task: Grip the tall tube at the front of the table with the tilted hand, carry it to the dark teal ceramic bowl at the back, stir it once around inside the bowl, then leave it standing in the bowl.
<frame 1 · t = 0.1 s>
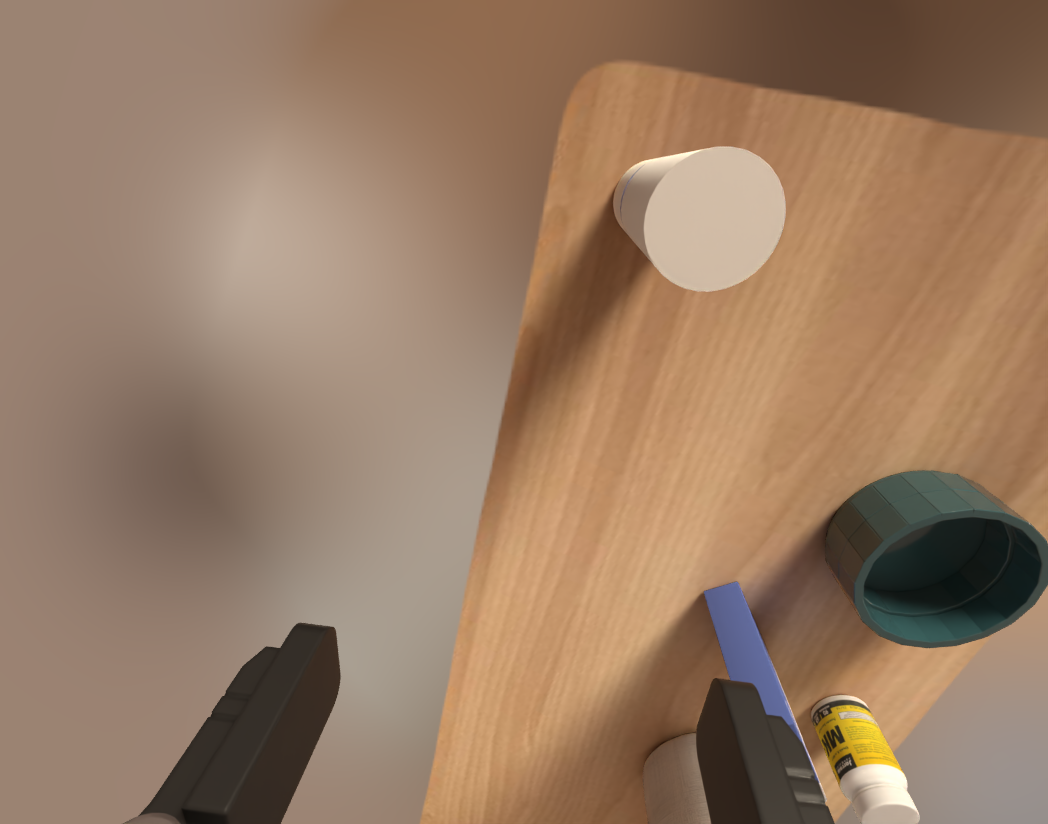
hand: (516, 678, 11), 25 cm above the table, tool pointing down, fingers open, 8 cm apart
planter: (707, 765, 50), on the table
tube: (650, 200, 30), on the table
supplement bottle: (836, 709, 46), on the table
bowl: (904, 534, 38), on the table
walkman: (735, 617, 42), on the table
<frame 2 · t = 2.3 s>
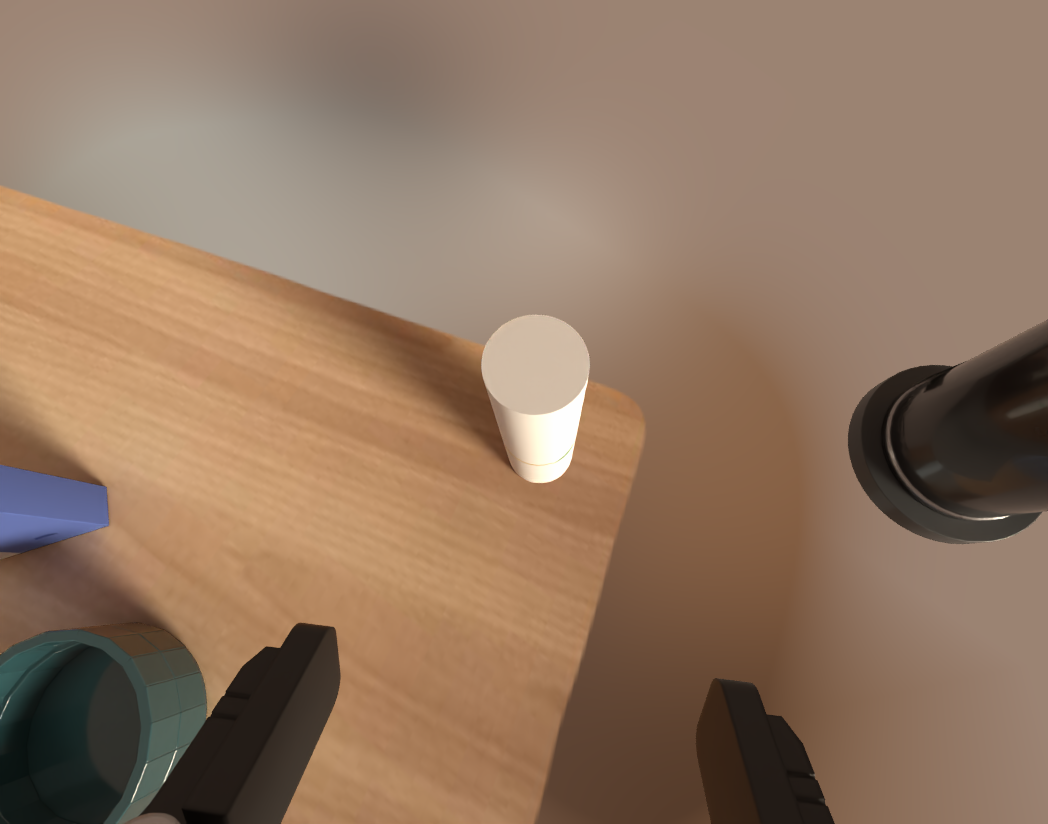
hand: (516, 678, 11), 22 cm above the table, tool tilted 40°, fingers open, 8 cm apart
tube: (540, 451, 35), on the table
bowl: (118, 723, 31), on the table
walkman: (54, 524, 35), on the table
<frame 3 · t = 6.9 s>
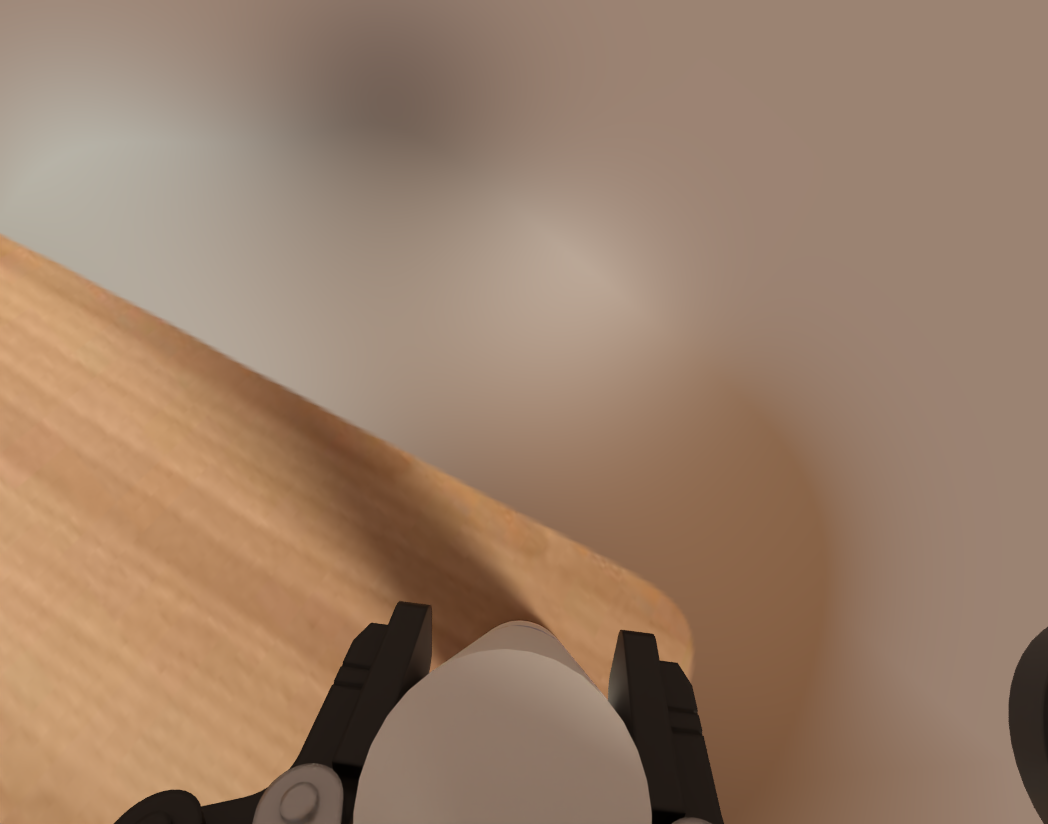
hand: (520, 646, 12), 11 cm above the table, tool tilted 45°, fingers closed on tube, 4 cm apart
tube: (519, 675, 22), on the table, touching gripper
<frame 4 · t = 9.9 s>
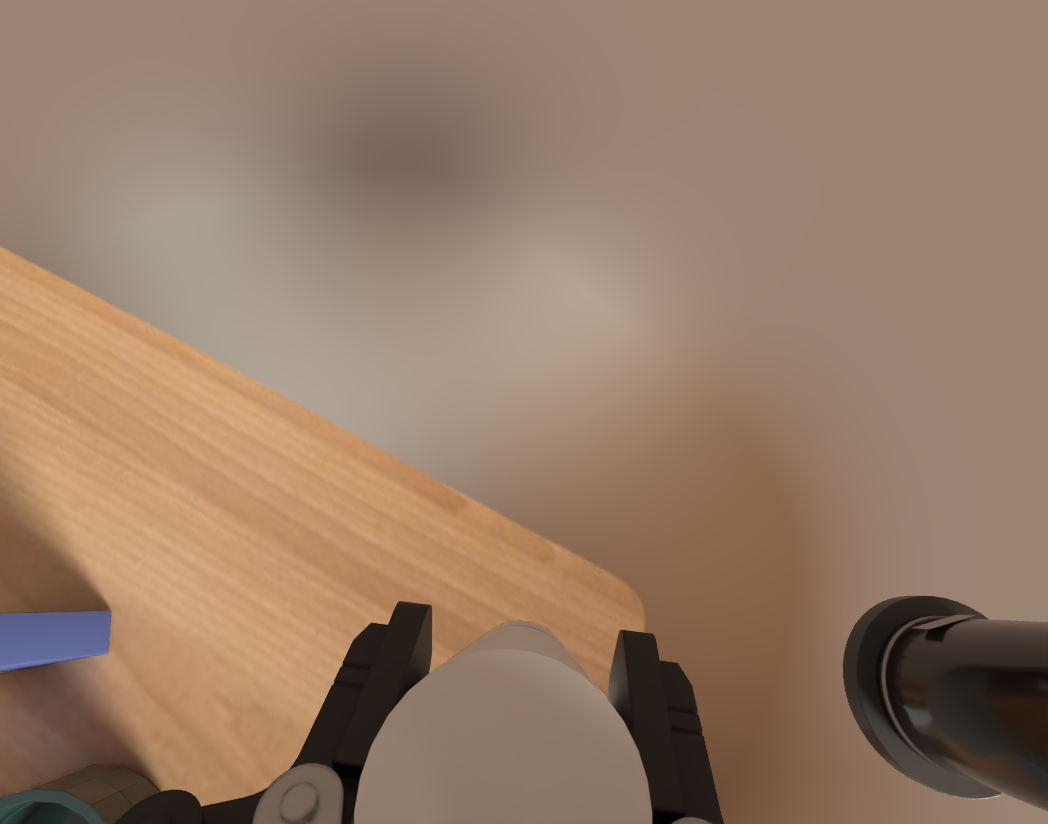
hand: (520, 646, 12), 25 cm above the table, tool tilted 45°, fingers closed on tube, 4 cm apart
tube: (519, 675, 22), point 14 cm above the table, touching gripper
walkman: (54, 643, 36), on the table
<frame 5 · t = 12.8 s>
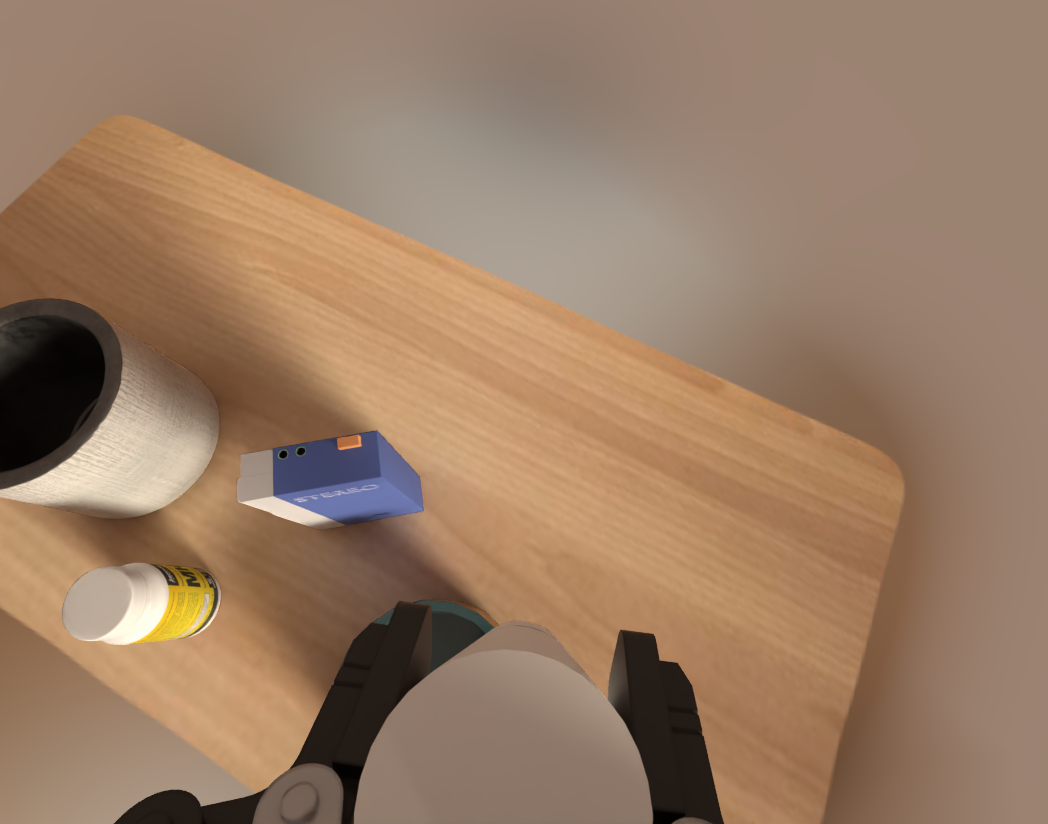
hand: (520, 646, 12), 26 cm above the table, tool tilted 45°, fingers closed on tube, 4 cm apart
planter: (147, 441, 42), on the table
tube: (519, 675, 22), point 15 cm above the table, touching gripper
supplement bottle: (191, 602, 37), on the table
bowl: (440, 688, 35), on the table
walkman: (372, 503, 40), on the table
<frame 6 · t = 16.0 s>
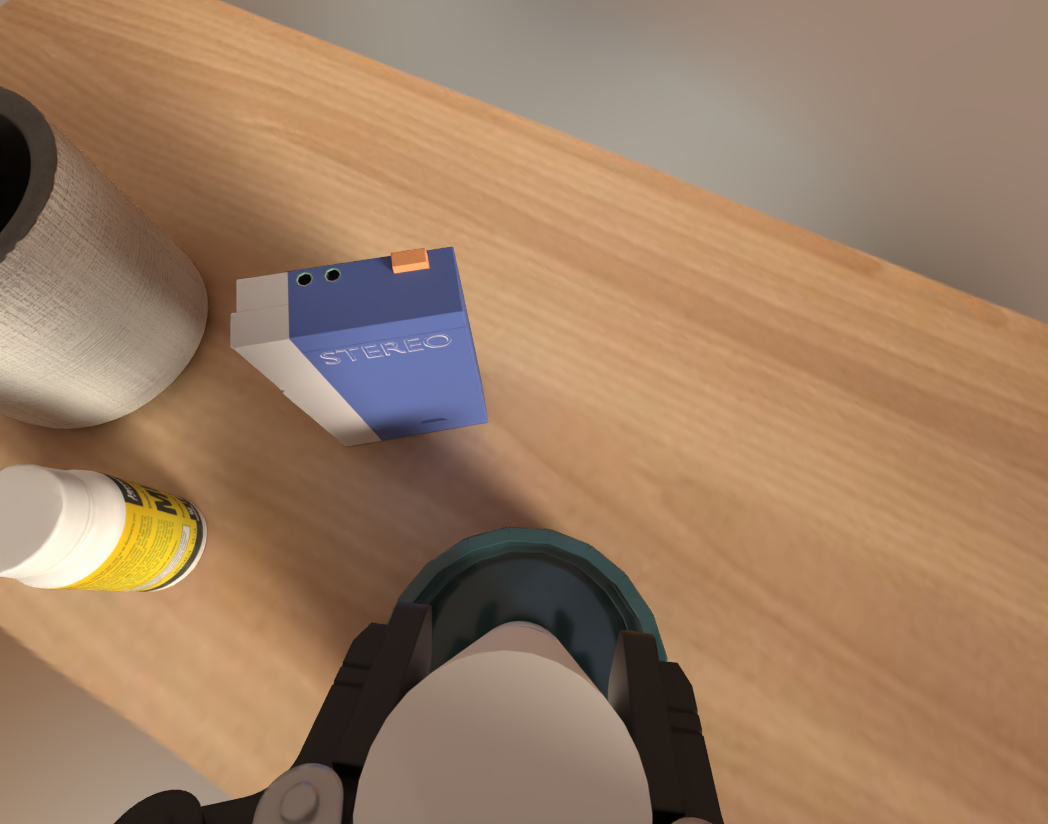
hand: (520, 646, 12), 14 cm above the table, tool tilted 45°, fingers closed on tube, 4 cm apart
planter: (110, 333, 31), on the table
tube: (519, 676, 22), point 3 cm above the table, touching gripper
supplement bottle: (165, 543, 27), on the table
bowl: (522, 662, 24), on the table
walkman: (416, 413, 29), on the table
when the fingers open (12 cm above the table, at t = 18.7 s): tube stays where it is, resting on bowl.
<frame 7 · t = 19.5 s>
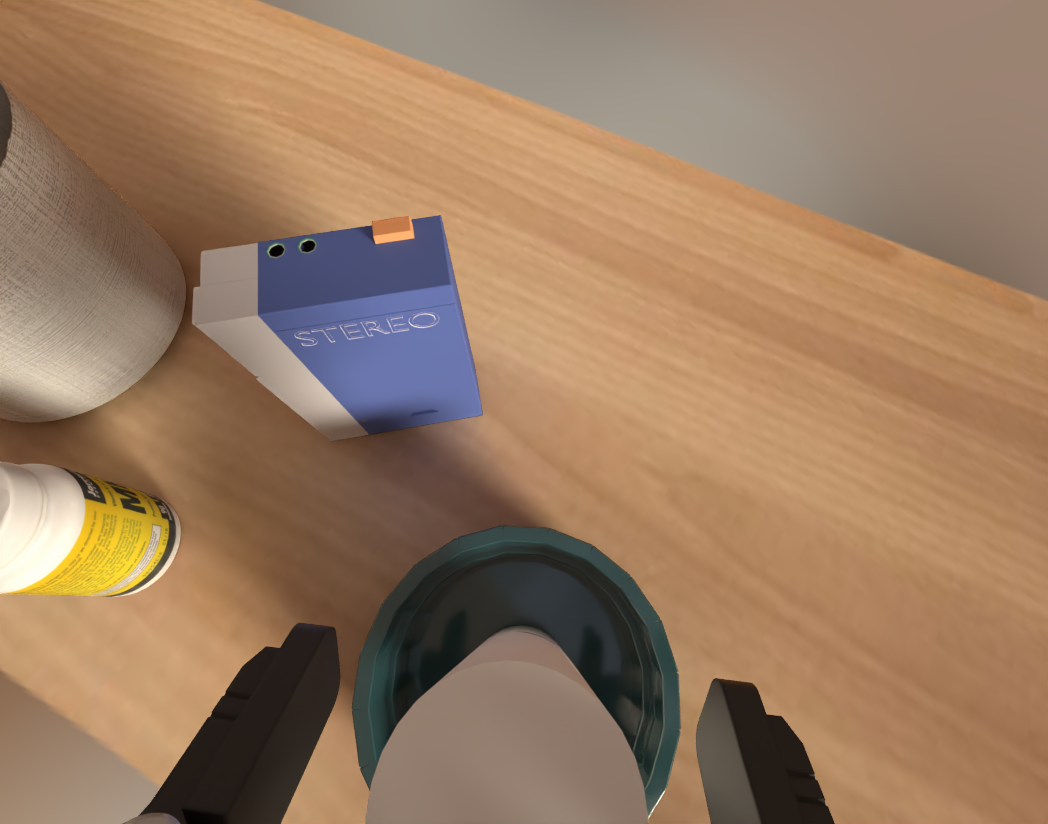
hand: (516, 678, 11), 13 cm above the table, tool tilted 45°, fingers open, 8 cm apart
planter: (82, 322, 29), on the table
tube: (520, 679, 22), resting on bowl
supplement bottle: (136, 544, 25), on the table
bowl: (518, 672, 23), on the table
walkman: (406, 406, 27), on the table
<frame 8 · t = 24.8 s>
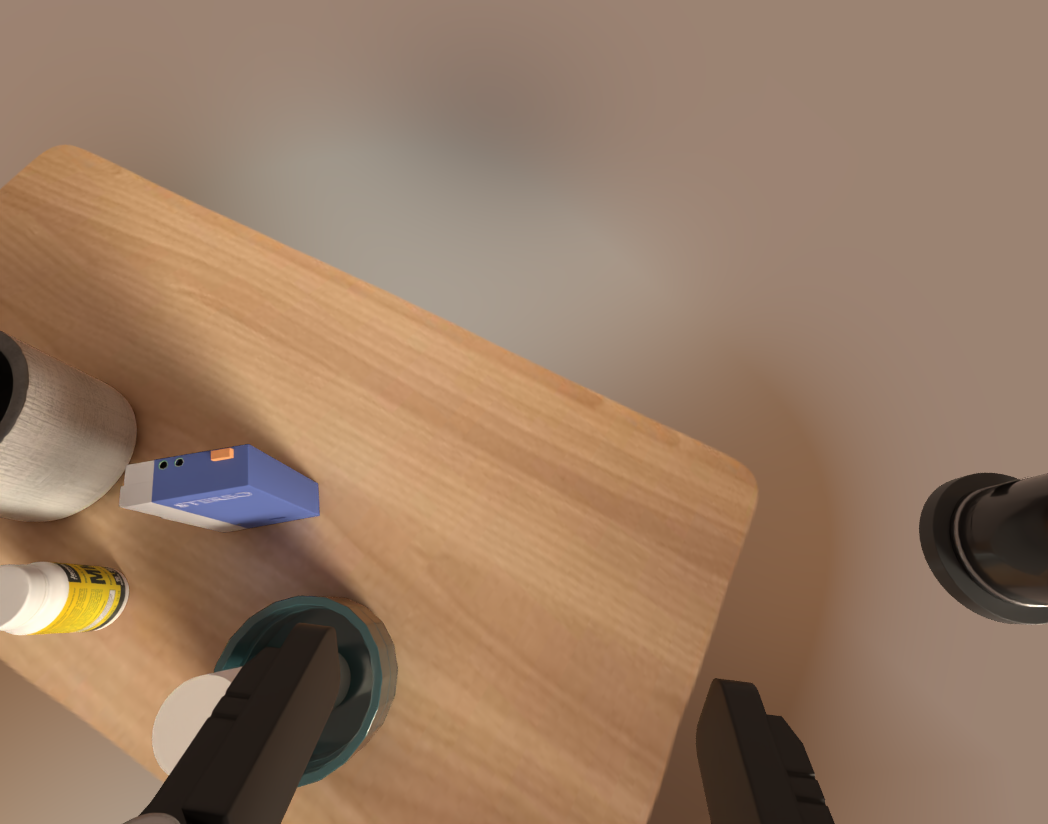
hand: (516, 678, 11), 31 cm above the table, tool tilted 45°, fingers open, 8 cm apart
planter: (71, 451, 45), on the table
tube: (322, 680, 38), resting on bowl
supplement bottle: (102, 598, 41), on the table
bowl: (323, 676, 39), on the table
walkman: (273, 508, 43), on the table
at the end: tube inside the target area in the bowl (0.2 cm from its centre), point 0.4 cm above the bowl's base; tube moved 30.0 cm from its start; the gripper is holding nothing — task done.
